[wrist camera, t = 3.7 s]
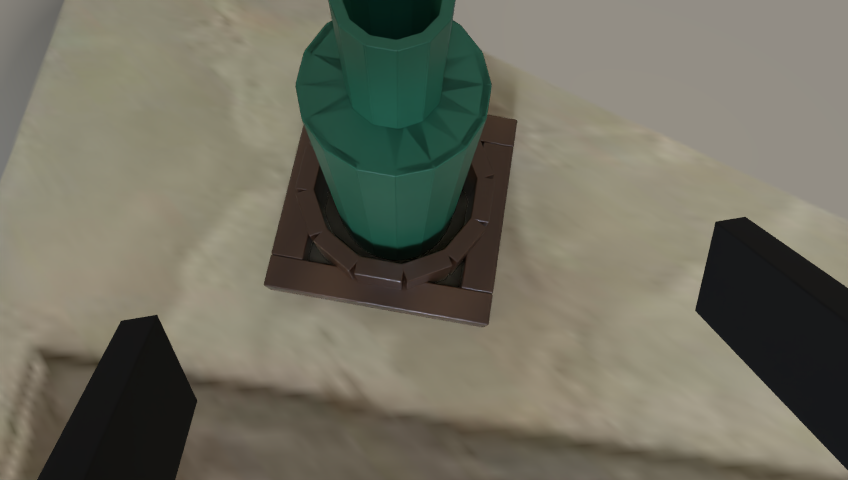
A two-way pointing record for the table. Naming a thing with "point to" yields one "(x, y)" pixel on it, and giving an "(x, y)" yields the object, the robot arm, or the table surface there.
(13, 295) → the table surface
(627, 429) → the table surface
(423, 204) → the bottle
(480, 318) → the holder
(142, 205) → the table surface
